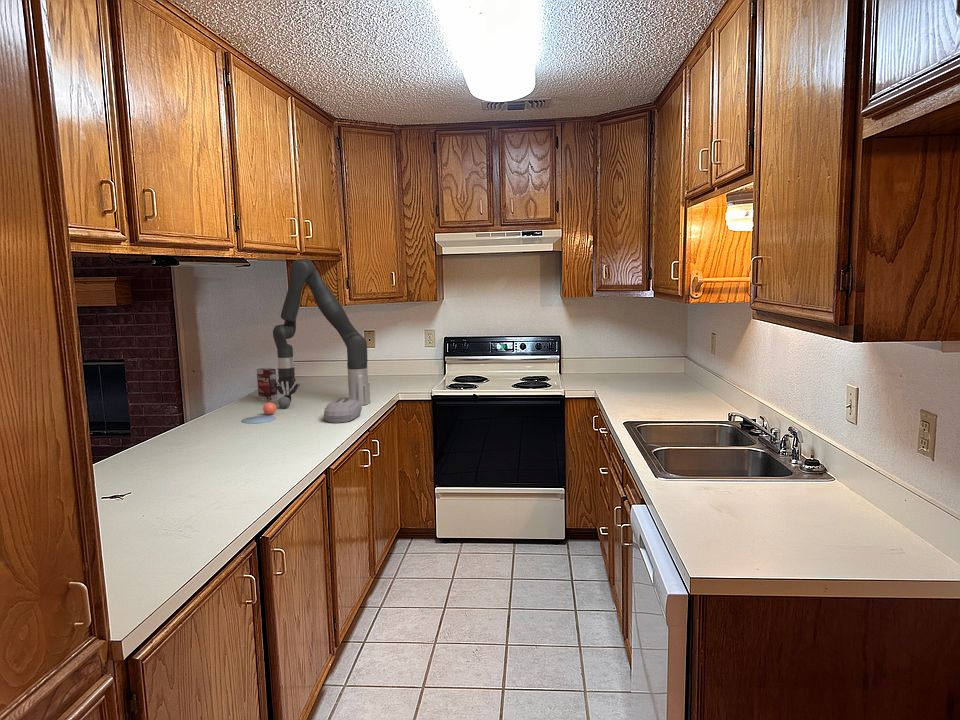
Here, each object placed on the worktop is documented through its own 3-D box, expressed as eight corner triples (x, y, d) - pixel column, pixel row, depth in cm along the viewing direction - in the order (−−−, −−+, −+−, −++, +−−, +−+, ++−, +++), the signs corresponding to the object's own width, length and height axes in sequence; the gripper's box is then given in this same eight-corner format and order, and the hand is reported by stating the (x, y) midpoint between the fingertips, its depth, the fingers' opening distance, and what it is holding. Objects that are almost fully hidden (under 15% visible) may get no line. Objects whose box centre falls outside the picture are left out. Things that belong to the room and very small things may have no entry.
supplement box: (258, 400, 323) (255, 369, 321) (265, 398, 327) (263, 367, 325) (270, 401, 319) (268, 369, 317) (278, 400, 323) (276, 368, 321)
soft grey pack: (332, 414, 288) (317, 424, 268) (331, 395, 287) (316, 404, 267) (366, 413, 287) (353, 424, 267) (365, 395, 286) (352, 404, 266)
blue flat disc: (281, 416, 284) (281, 416, 284) (265, 423, 271) (265, 423, 270) (251, 415, 287) (251, 415, 287) (234, 423, 273) (234, 422, 273)
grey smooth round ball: (292, 407, 304) (292, 395, 303) (287, 409, 299) (286, 397, 298) (282, 406, 305) (281, 395, 304) (276, 409, 300) (275, 397, 299)
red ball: (278, 413, 291) (277, 401, 290) (272, 416, 285) (271, 403, 284) (267, 413, 292) (266, 401, 291) (261, 416, 286) (260, 403, 285)
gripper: (269, 367, 302) (271, 404, 304) (294, 368, 299) (296, 404, 301) (277, 365, 309) (279, 400, 311) (302, 365, 306) (304, 401, 309)
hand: (288, 402), depth 306 cm, fingers closed
